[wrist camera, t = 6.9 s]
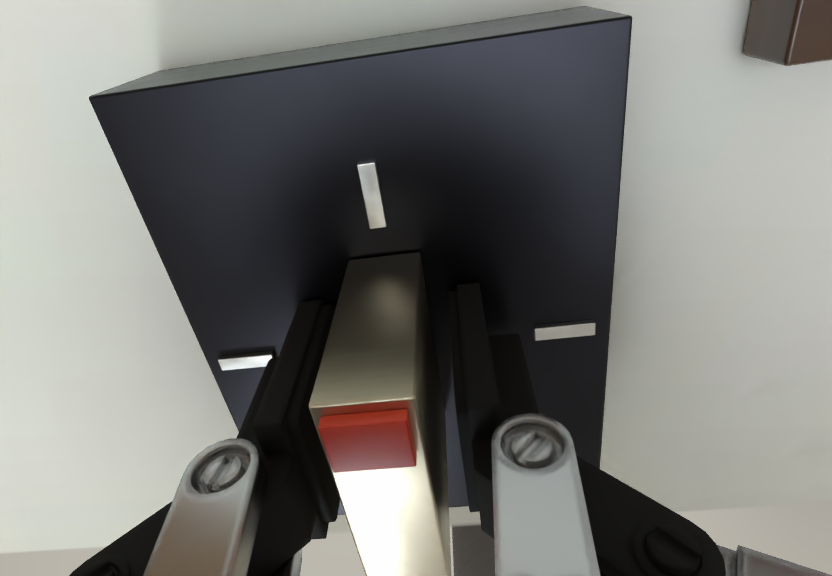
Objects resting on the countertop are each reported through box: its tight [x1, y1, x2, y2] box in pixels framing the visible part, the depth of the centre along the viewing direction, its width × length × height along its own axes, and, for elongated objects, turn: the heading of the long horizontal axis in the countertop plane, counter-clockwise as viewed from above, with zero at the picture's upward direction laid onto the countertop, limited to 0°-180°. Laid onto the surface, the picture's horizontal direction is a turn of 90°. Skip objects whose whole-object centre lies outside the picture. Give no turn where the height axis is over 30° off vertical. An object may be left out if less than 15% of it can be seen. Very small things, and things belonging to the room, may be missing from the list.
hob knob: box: [309, 252, 451, 576], centre depth 10 cm, size 5×2×5 cm, turn 8°
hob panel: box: [89, 6, 632, 515], centre depth 14 cm, size 13×10×3 cm
